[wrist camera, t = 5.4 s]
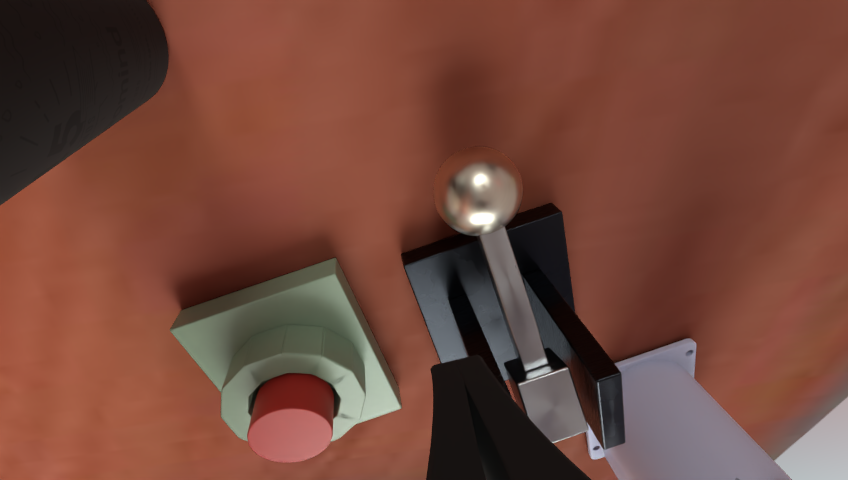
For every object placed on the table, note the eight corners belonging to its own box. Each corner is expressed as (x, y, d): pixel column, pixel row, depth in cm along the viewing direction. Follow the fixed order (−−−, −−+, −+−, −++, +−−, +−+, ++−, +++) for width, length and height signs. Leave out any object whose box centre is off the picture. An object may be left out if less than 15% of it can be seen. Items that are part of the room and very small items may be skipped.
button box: (399, 388, 25) (406, 439, 22) (274, 431, 25) (264, 488, 22) (336, 256, 20) (333, 299, 17) (180, 310, 20) (150, 362, 17)
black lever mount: (400, 253, 20) (429, 381, 13) (551, 201, 20) (663, 300, 13) (450, 383, 25) (490, 527, 18) (571, 341, 25) (660, 468, 18)
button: (345, 410, 21) (344, 447, 19) (277, 433, 21) (270, 472, 19) (315, 362, 19) (312, 397, 17) (241, 387, 19) (230, 426, 17)
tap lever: (420, 168, 18) (422, 157, 15) (496, 142, 18) (517, 125, 15) (504, 417, 19) (525, 464, 16) (576, 392, 19) (614, 433, 16)
